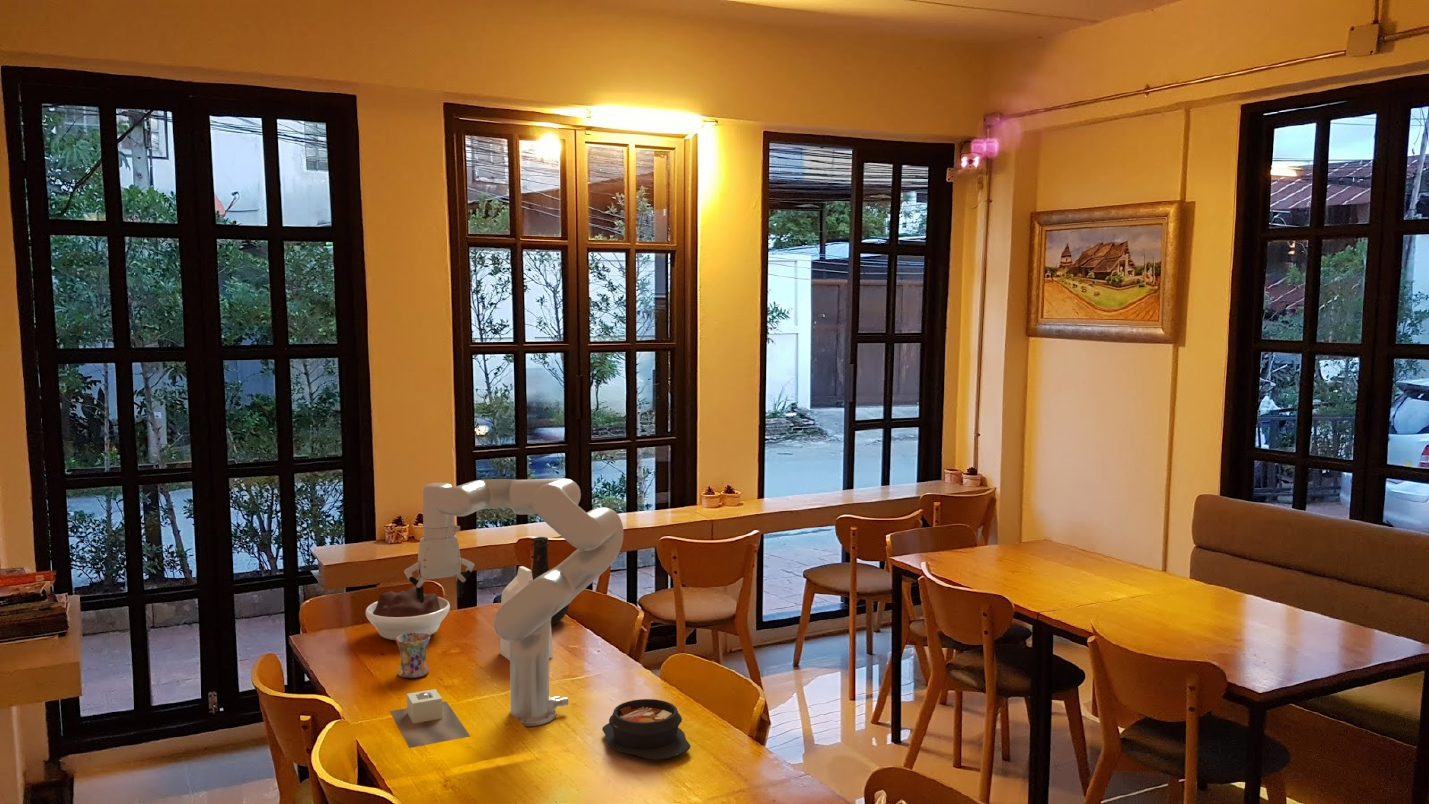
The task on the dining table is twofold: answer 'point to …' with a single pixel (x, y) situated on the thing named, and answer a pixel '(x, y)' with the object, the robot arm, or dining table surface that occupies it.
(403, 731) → the board
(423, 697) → the post
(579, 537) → the robot arm
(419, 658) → the mug
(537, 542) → the glass bottle
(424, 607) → the bowl of chocolate mousse
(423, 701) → the white rectangular block
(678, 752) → the casserole
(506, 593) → the milk
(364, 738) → the dining table surface
